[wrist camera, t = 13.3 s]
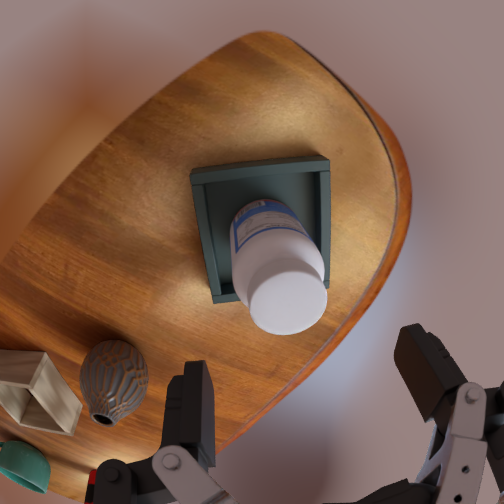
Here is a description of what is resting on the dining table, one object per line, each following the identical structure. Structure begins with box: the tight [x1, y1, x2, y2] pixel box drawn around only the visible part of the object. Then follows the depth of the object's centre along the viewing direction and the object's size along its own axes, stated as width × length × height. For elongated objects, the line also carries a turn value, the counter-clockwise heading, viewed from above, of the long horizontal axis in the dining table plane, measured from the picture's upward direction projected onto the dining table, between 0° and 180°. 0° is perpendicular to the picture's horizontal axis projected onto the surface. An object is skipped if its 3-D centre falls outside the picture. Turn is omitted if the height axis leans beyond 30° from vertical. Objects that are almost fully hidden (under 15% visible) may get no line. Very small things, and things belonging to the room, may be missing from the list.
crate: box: [0, 349, 83, 436], centre depth 28 cm, size 11×11×6 cm
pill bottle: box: [230, 199, 327, 335], centre depth 19 cm, size 6×5×10 cm
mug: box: [0, 441, 51, 494], centre depth 38 cm, size 17×13×10 cm
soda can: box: [84, 470, 97, 504], centre depth 41 cm, size 8×8×12 cm
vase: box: [80, 340, 148, 427], centre depth 25 cm, size 7×7×9 cm
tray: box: [190, 155, 331, 304], centre depth 23 cm, size 11×10×2 cm
